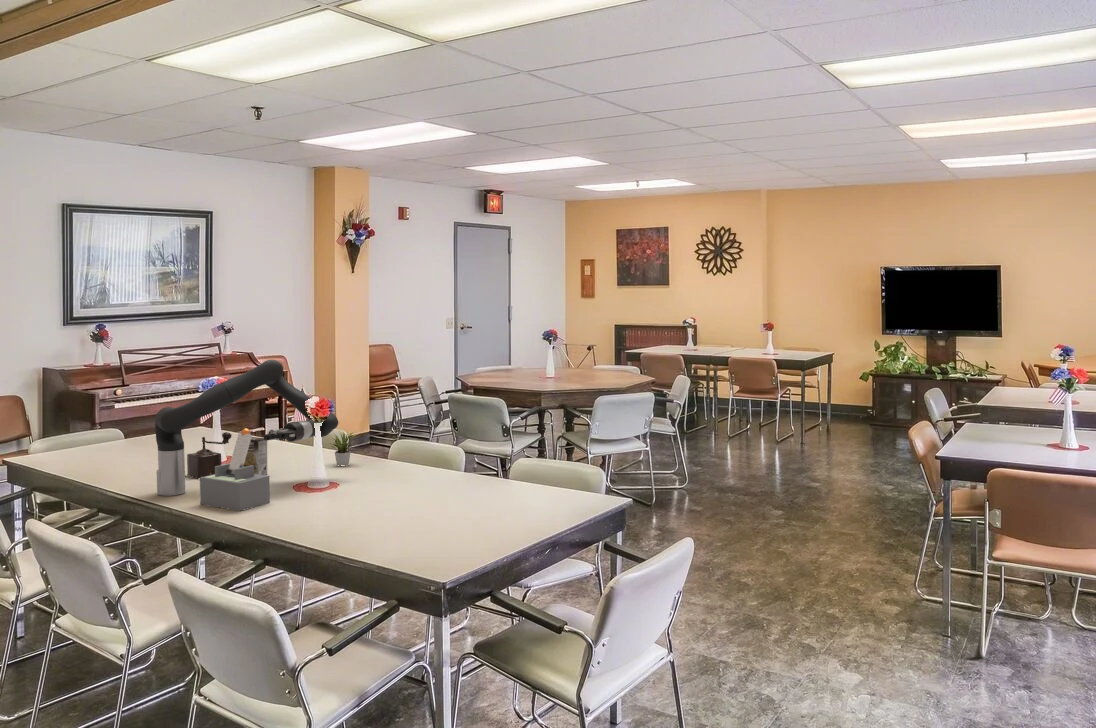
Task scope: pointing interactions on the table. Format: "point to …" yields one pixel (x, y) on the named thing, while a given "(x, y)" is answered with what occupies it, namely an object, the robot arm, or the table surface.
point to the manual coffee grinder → (205, 459)
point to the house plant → (342, 449)
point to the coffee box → (257, 455)
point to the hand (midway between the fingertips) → (265, 437)
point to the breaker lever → (239, 451)
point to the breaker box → (234, 488)
